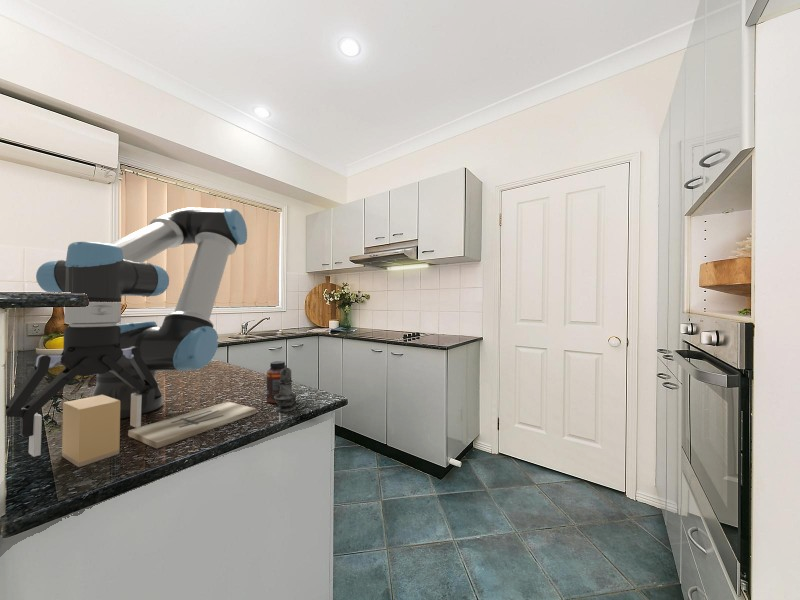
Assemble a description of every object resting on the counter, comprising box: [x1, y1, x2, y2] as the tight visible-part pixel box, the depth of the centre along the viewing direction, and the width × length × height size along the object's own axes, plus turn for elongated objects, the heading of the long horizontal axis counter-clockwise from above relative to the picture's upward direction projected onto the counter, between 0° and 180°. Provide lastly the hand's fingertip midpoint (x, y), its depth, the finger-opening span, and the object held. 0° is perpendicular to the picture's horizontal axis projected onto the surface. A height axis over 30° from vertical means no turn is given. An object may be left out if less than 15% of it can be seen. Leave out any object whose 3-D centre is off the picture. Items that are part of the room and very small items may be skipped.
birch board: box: [127, 401, 257, 449], centre depth 72 cm, size 12×22×1 cm, turn 152°
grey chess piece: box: [274, 364, 298, 413], centre depth 82 cm, size 6×6×12 cm
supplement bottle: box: [265, 360, 286, 404], centre depth 89 cm, size 6×6×11 cm
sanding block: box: [61, 395, 121, 468], centre depth 57 cm, size 8×6×10 cm
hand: (90, 438), depth 56 cm, fingers open, 13 cm apart
